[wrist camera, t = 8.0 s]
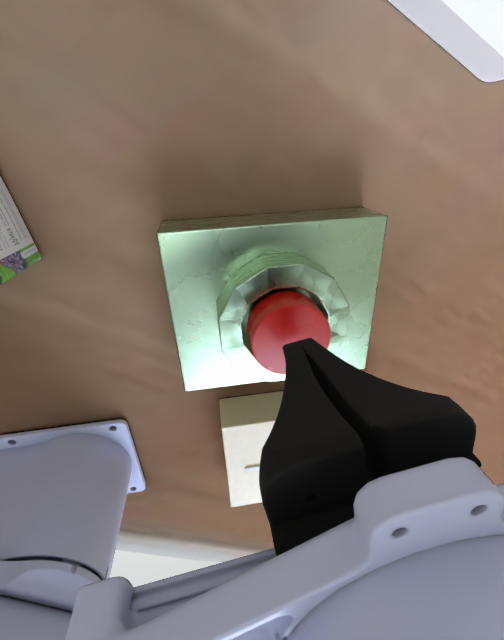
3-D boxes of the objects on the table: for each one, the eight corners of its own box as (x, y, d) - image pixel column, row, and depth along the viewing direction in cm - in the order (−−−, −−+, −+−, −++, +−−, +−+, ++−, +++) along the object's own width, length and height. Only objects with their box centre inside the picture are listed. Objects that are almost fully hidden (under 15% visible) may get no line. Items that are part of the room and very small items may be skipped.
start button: (248, 360, 18) (253, 379, 17) (244, 294, 16) (249, 309, 15) (317, 351, 19) (328, 370, 17) (321, 286, 17) (334, 300, 15)
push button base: (186, 364, 23) (183, 414, 19) (162, 220, 18) (150, 242, 14) (347, 345, 24) (380, 388, 20) (363, 206, 20) (410, 222, 15)
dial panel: (228, 476, 29) (231, 510, 26) (218, 397, 25) (221, 428, 22) (355, 456, 30) (370, 487, 28) (367, 378, 26) (387, 405, 23)
